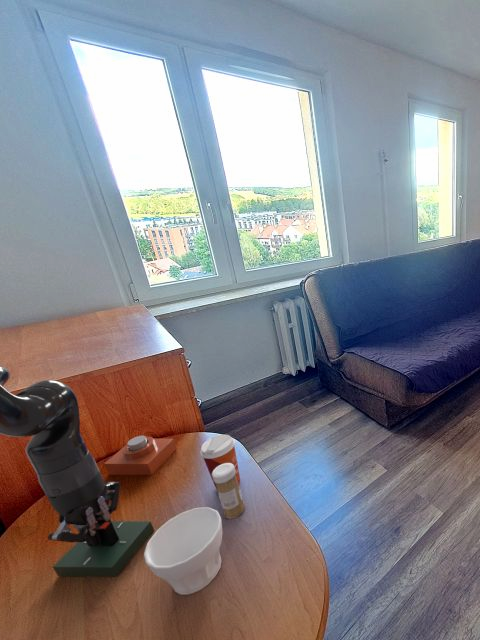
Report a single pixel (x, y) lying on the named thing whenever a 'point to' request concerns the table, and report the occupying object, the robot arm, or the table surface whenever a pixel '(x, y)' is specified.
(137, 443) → the grey push button
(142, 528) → the dial panel
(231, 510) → the sprinkles bottle
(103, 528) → the dial knob
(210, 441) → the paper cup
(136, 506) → the table surface
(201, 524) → the cup
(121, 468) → the domed button plate
